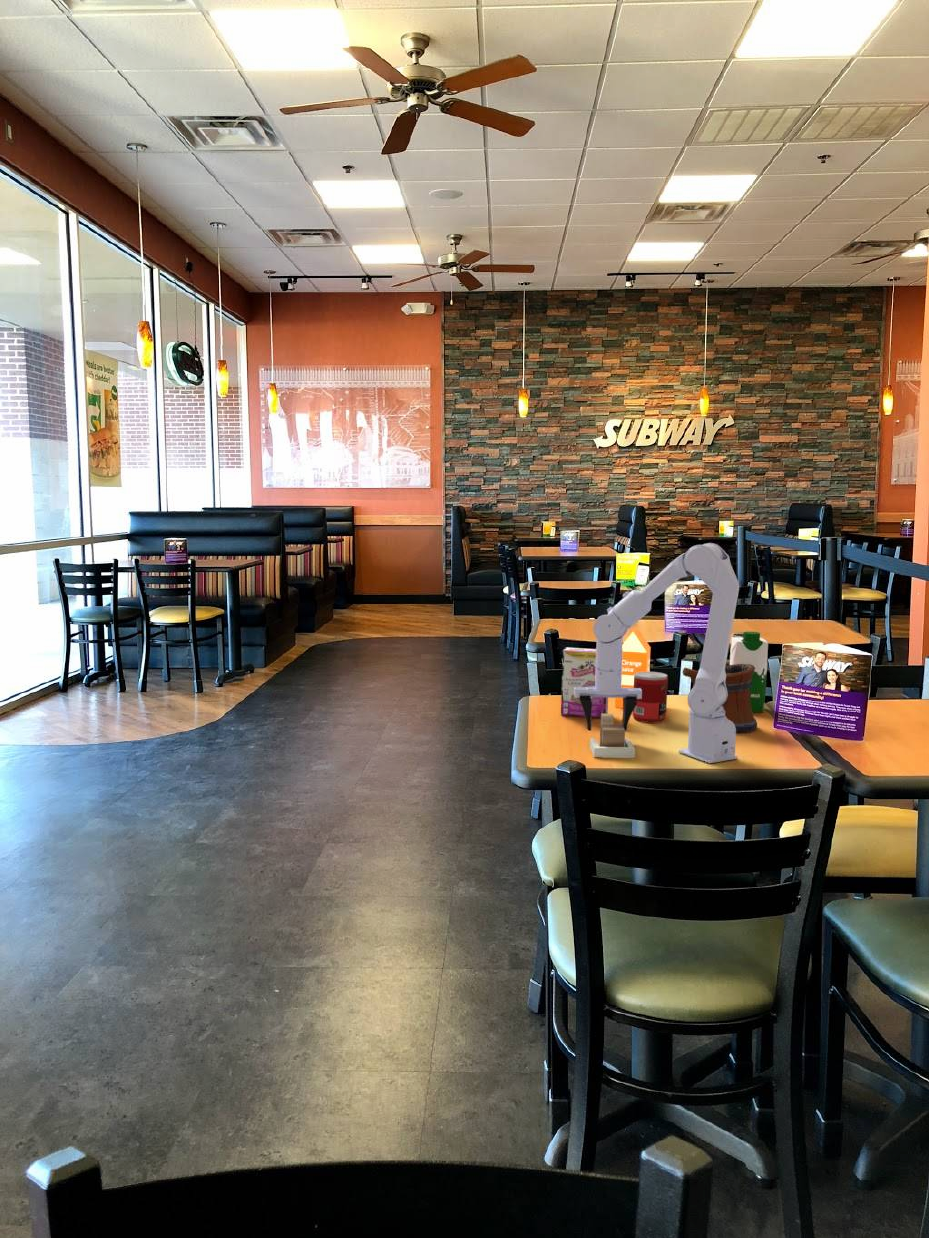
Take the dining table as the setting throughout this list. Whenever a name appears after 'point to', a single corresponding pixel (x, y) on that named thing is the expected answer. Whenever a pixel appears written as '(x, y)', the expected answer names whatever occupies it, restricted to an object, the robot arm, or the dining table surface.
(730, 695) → the mug
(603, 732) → the block
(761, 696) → the milk carton
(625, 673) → the orange juice
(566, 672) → the candy bar box
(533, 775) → the dining table surface
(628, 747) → the white u-shaped bracket
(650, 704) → the canned food
